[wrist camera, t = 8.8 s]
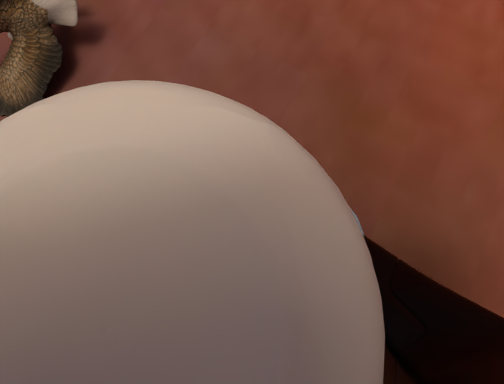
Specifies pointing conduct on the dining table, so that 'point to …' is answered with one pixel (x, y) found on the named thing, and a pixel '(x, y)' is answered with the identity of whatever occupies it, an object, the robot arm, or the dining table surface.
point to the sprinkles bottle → (176, 247)
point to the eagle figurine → (31, 49)
